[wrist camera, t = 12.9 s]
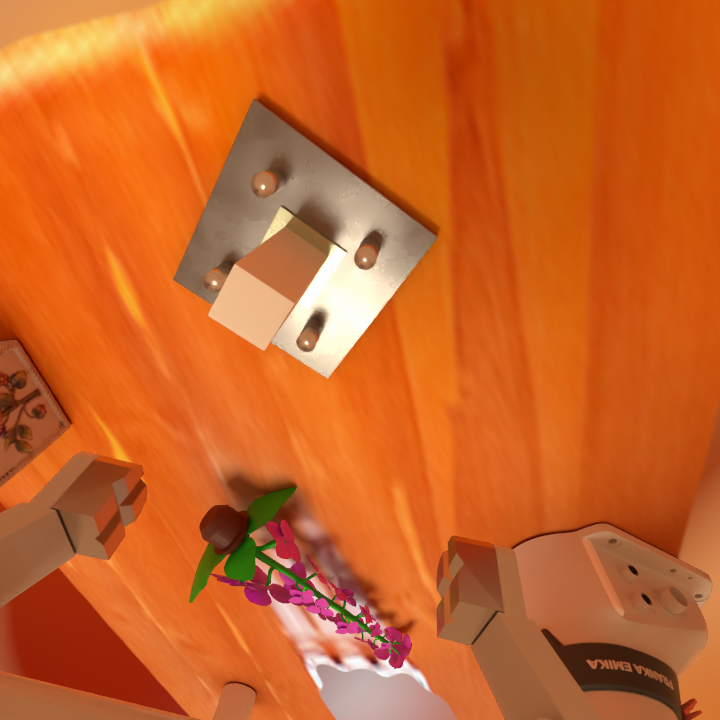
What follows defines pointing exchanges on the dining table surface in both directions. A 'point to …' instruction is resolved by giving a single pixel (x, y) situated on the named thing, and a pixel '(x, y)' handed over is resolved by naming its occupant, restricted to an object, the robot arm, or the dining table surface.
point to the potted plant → (281, 571)
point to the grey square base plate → (305, 235)
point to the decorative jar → (24, 411)
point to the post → (267, 287)
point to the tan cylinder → (235, 703)
